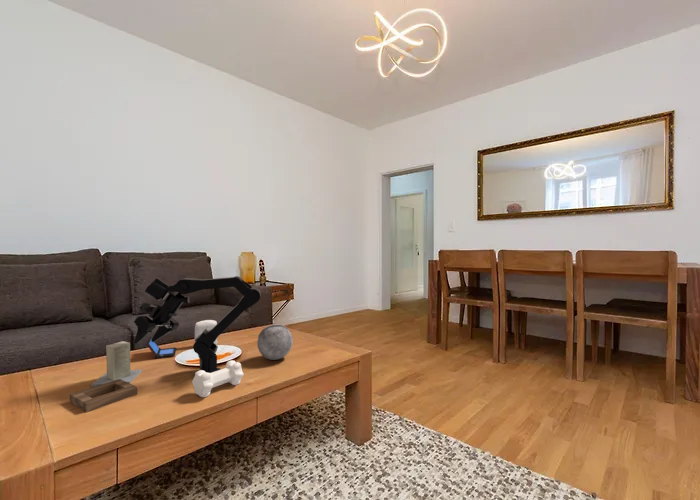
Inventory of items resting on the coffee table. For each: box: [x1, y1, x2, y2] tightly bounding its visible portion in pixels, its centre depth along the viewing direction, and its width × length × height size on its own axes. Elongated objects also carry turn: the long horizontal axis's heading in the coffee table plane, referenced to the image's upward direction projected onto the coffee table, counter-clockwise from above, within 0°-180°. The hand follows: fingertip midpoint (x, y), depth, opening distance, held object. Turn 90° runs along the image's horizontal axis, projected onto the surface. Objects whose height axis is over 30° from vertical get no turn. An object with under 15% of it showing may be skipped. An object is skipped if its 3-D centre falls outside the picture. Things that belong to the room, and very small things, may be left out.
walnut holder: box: [69, 379, 138, 413], centre depth 108 cm, size 12×14×2 cm
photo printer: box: [194, 319, 218, 346], centre depth 164 cm, size 10×4×12 cm, turn 123°
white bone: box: [191, 359, 245, 398], centre depth 115 cm, size 15×9×8 cm, turn 144°
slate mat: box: [90, 368, 143, 387], centre depth 124 cm, size 12×12×1 cm
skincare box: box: [105, 340, 131, 380], centre depth 124 cm, size 6×4×12 cm
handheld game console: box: [146, 336, 177, 360], centre depth 151 cm, size 12×11×7 cm
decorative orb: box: [256, 323, 294, 361], centre depth 145 cm, size 15×14×15 cm
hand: (144, 342), depth 126 cm, fingers open, 9 cm apart
